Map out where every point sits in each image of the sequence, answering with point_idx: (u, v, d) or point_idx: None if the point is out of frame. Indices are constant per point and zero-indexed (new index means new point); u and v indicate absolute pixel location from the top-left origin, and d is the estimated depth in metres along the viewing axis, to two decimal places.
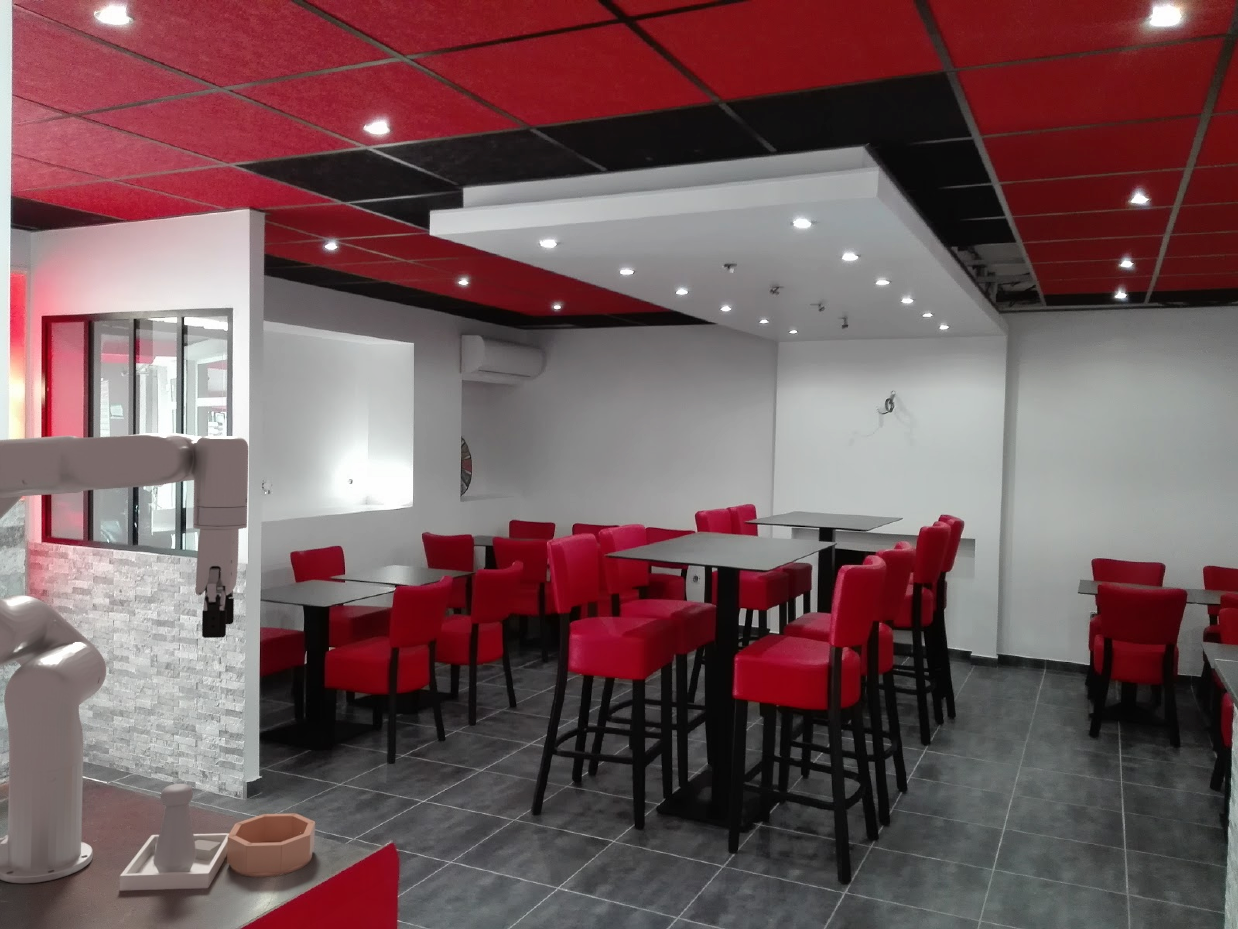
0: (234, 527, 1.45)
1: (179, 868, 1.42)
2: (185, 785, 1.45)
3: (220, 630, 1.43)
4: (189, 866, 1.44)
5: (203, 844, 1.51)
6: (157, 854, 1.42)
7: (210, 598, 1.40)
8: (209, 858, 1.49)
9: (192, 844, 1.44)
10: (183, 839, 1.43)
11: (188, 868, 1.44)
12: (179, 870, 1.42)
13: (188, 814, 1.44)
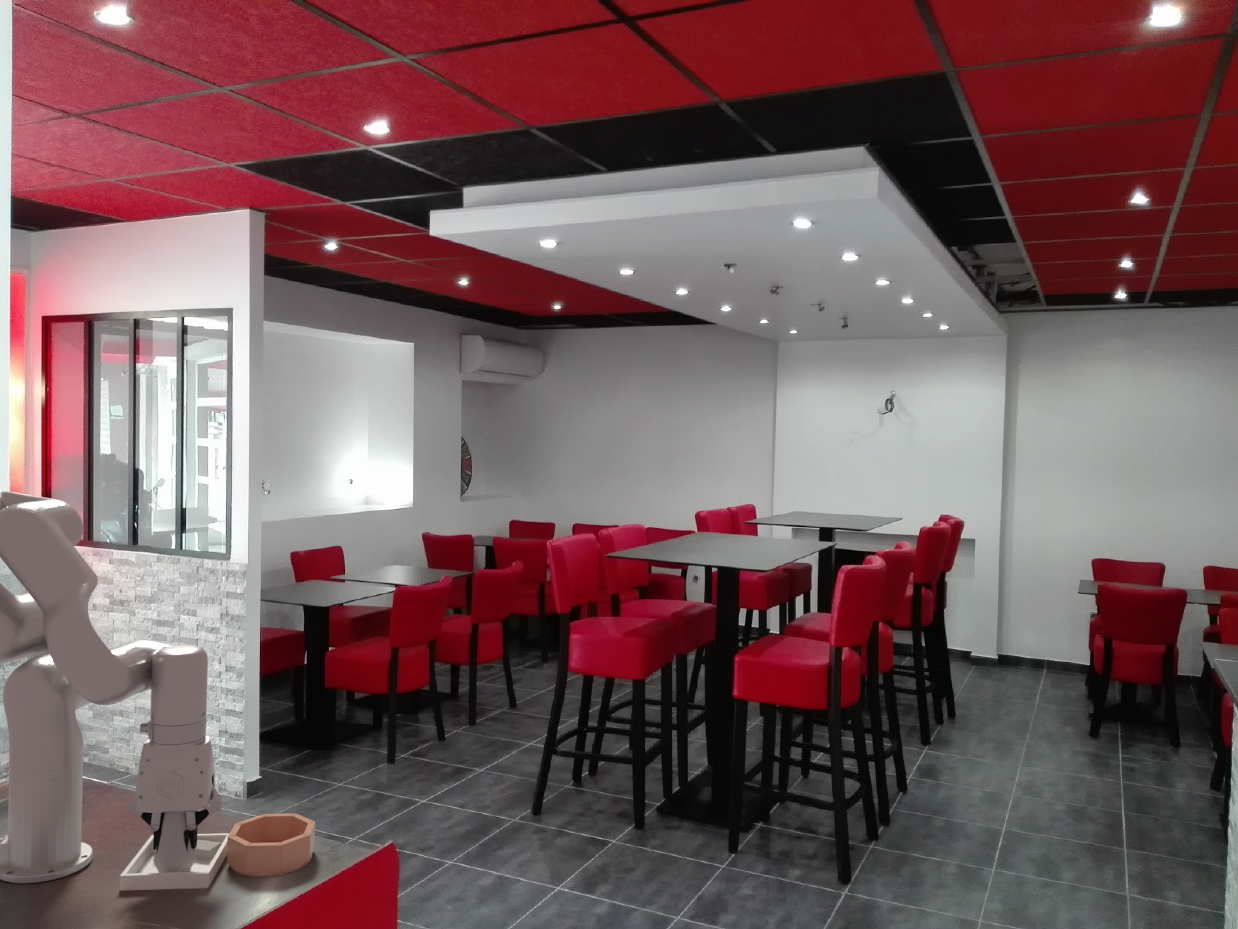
0: None
1: (179, 868, 1.42)
2: None
3: None
4: (189, 866, 1.44)
5: (203, 844, 1.51)
6: (157, 854, 1.42)
7: None
8: (209, 858, 1.49)
9: None
10: (183, 839, 1.43)
11: (188, 868, 1.44)
12: (179, 870, 1.42)
13: None
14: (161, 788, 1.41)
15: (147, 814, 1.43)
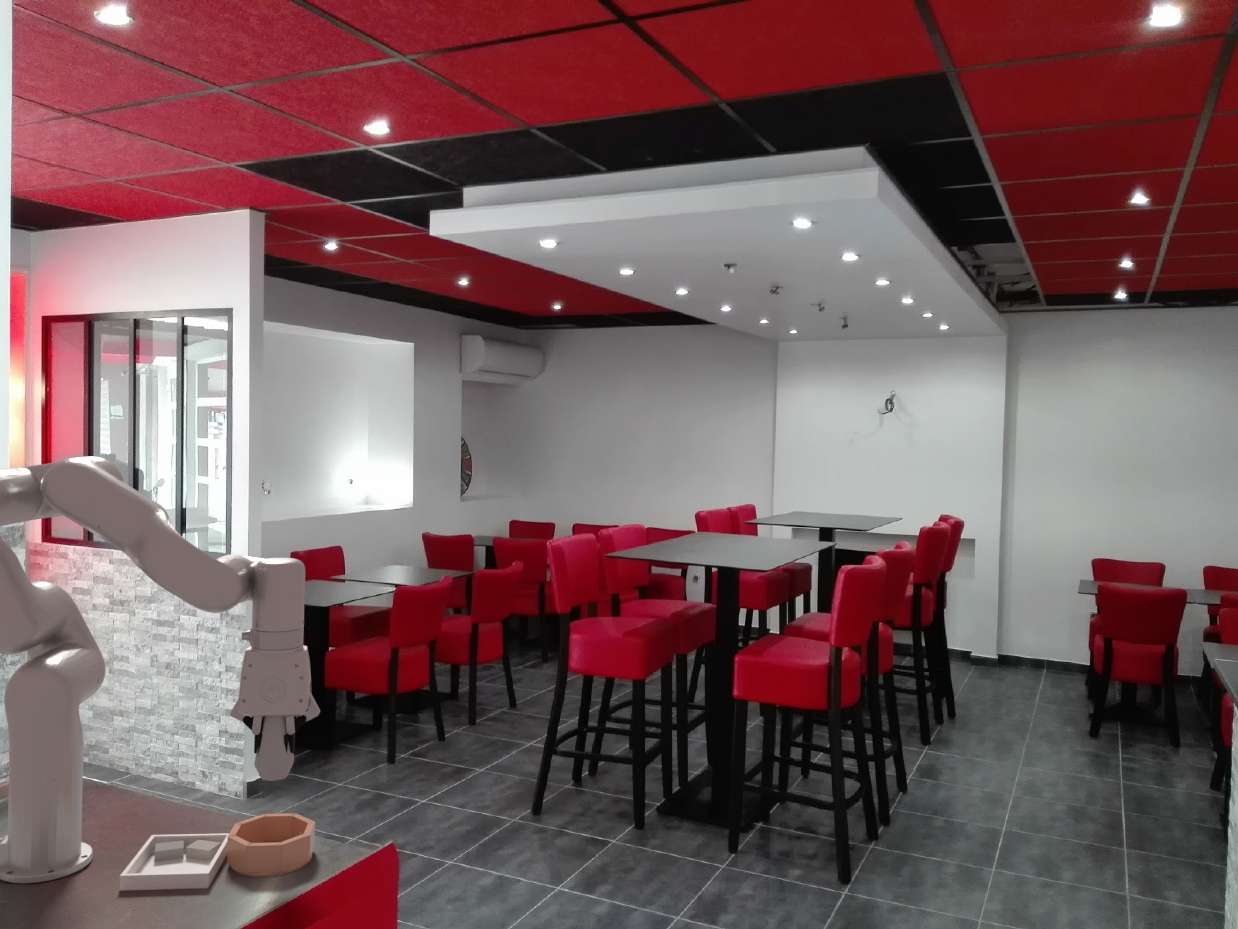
0: None
1: (280, 770, 1.48)
2: None
3: None
4: (288, 769, 1.49)
5: (203, 844, 1.51)
6: (258, 756, 1.48)
7: (307, 720, 1.50)
8: (209, 858, 1.49)
9: None
10: (283, 743, 1.48)
11: (287, 771, 1.49)
12: (279, 772, 1.48)
13: None
14: (263, 693, 1.47)
15: (248, 718, 1.48)
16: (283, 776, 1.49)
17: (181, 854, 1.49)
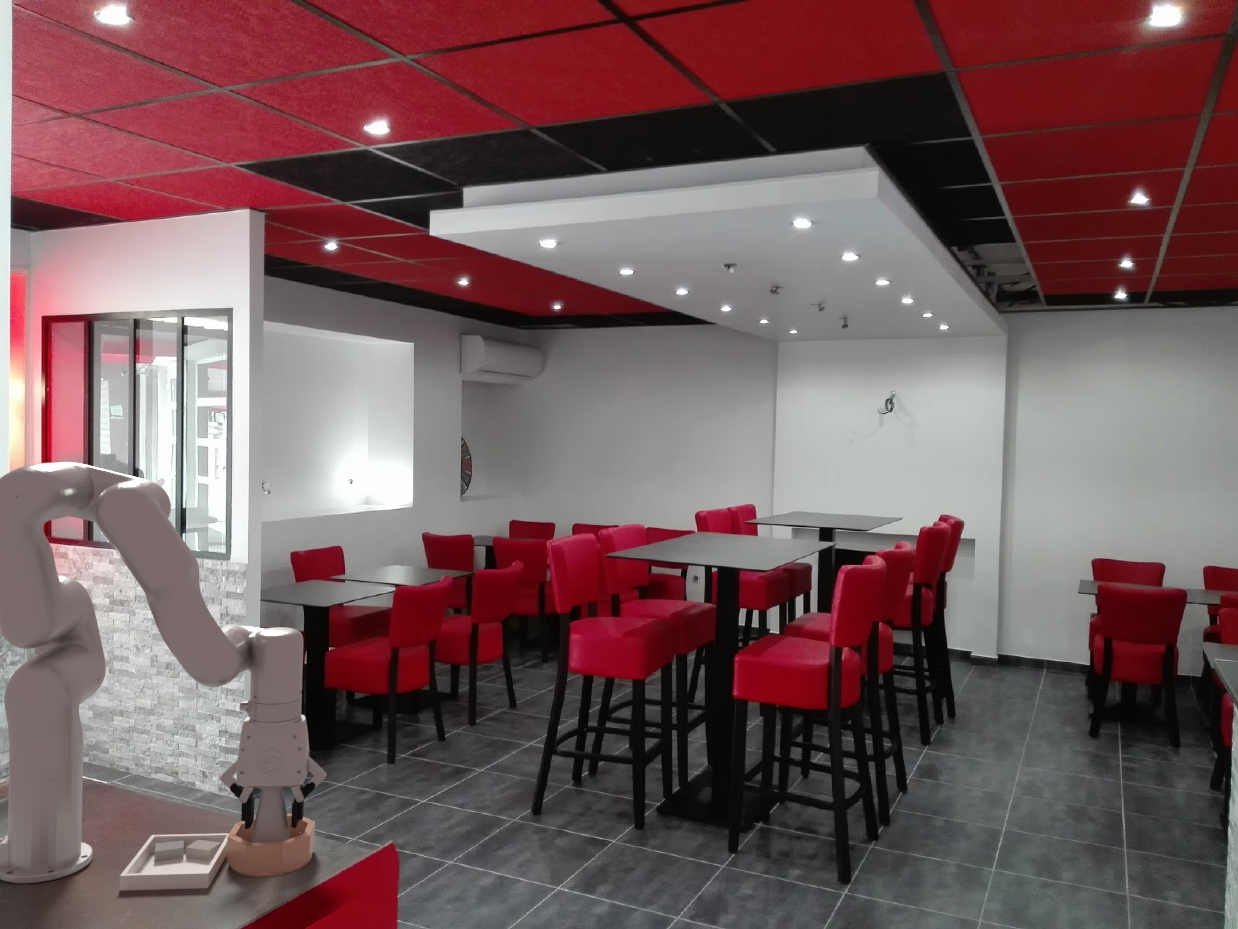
0: None
1: None
2: None
3: None
4: None
5: (203, 844, 1.51)
6: (254, 836, 1.48)
7: None
8: (209, 858, 1.49)
9: (287, 826, 1.50)
10: (279, 822, 1.49)
11: None
12: None
13: (283, 798, 1.50)
14: (261, 764, 1.47)
15: (235, 787, 1.48)
16: None
17: (181, 854, 1.49)
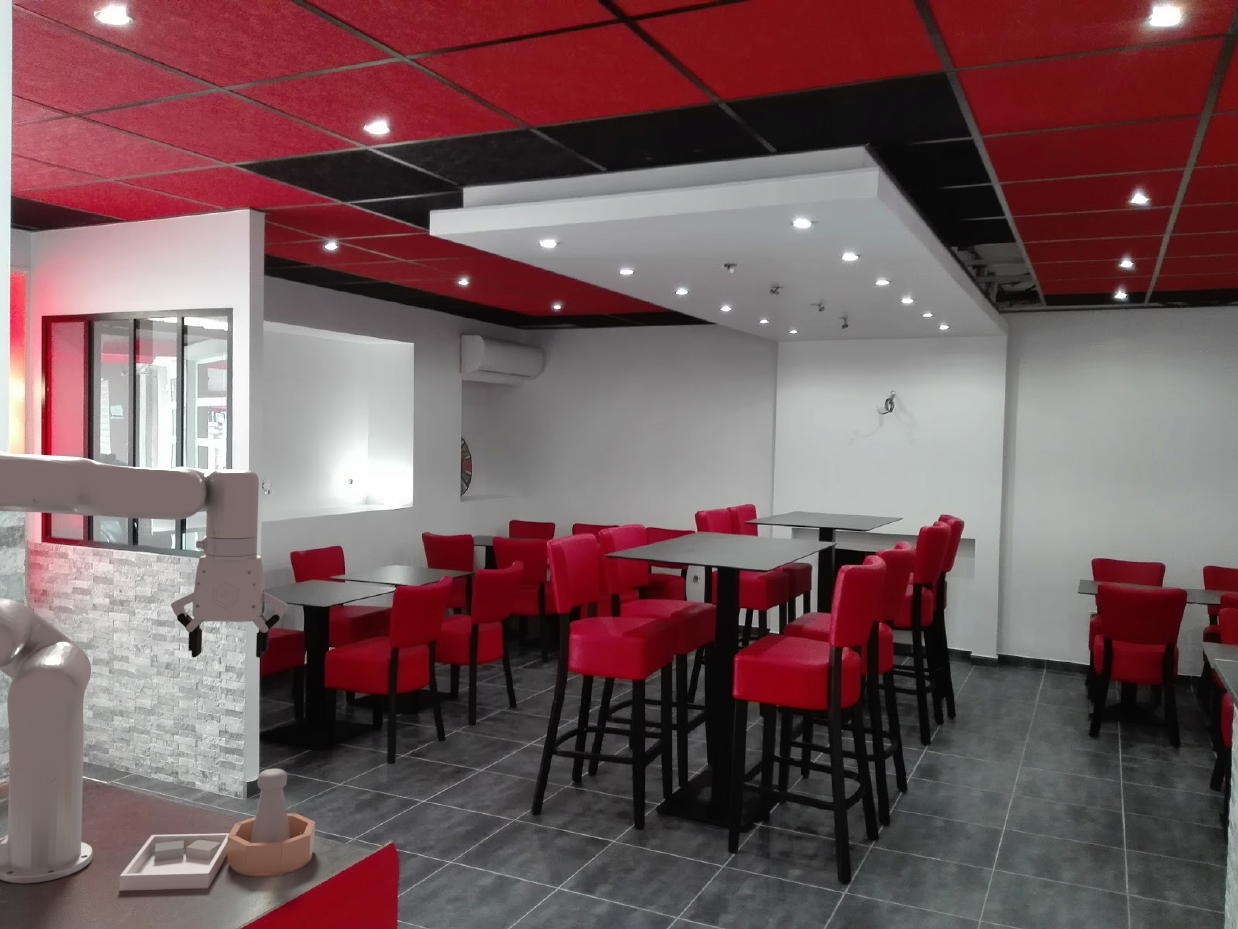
0: None
1: None
2: (280, 770, 1.50)
3: None
4: None
5: (203, 844, 1.51)
6: (254, 836, 1.48)
7: (280, 617, 1.55)
8: (209, 858, 1.49)
9: (287, 826, 1.50)
10: (279, 822, 1.49)
11: None
12: None
13: (283, 798, 1.50)
14: (216, 598, 1.51)
15: (183, 616, 1.52)
16: None
17: (181, 854, 1.49)
